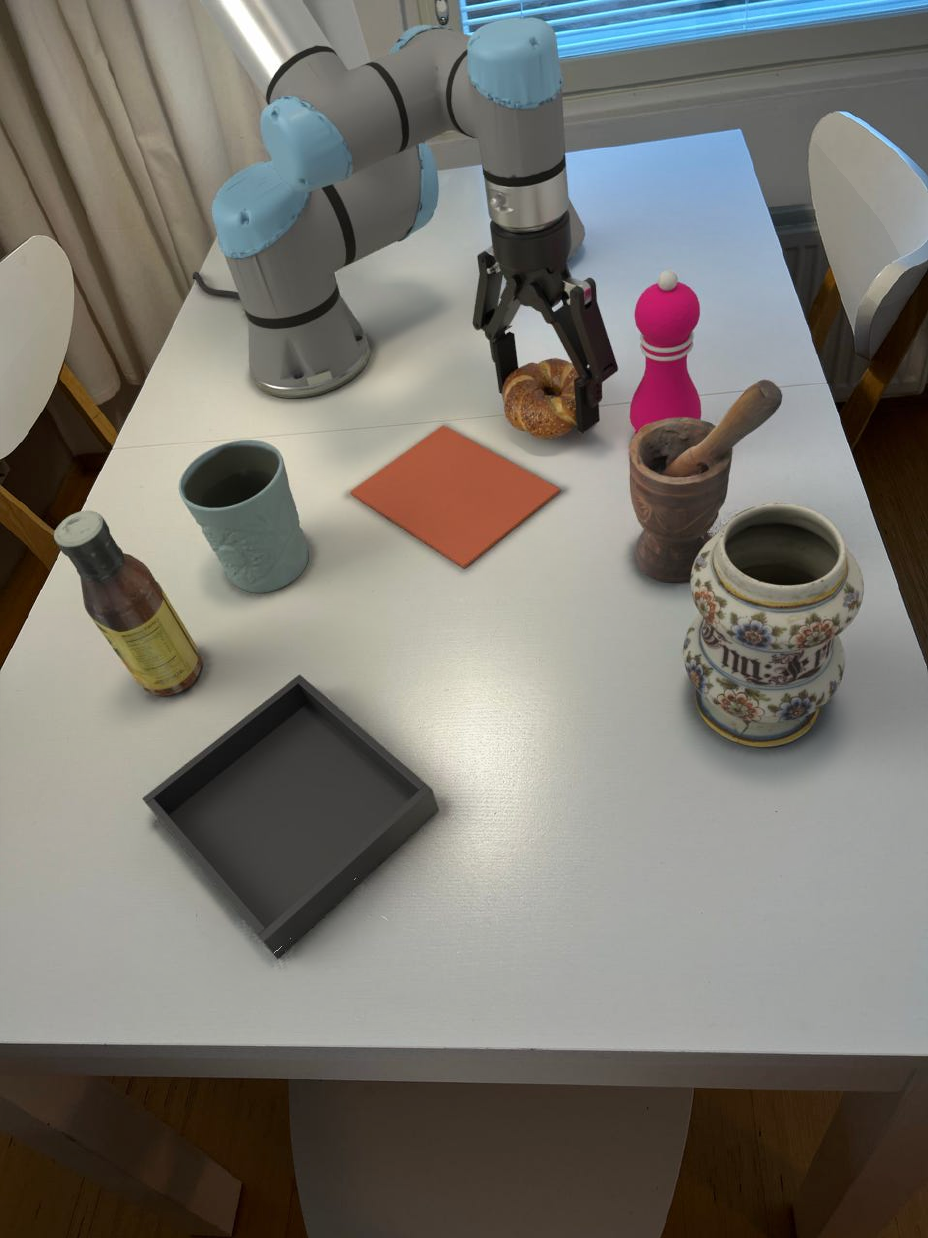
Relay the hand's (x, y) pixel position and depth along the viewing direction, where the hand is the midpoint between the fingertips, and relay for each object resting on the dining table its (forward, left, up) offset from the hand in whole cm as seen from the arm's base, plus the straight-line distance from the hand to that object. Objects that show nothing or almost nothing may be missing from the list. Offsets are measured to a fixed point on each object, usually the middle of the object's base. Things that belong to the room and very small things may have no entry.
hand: (547, 406), depth 104 cm
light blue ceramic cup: (-8, -34, -2) cm, 35 cm away
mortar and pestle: (+25, -7, -2) cm, 26 cm away
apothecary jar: (+39, -17, -2) cm, 43 cm away
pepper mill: (+13, +4, -2) cm, 14 cm away
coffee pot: (-29, +29, -2) cm, 41 cm away
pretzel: (0, 0, 0) cm, 1 cm away
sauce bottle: (-3, -49, -2) cm, 49 cm away
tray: (+18, -50, -2) cm, 53 cm away
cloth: (0, -15, -2) cm, 15 cm away
